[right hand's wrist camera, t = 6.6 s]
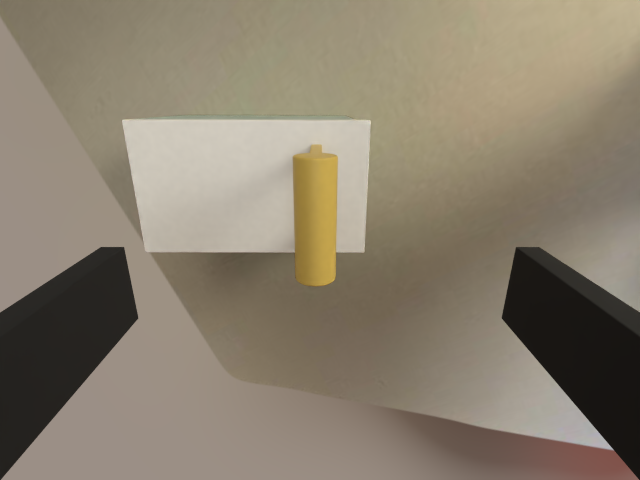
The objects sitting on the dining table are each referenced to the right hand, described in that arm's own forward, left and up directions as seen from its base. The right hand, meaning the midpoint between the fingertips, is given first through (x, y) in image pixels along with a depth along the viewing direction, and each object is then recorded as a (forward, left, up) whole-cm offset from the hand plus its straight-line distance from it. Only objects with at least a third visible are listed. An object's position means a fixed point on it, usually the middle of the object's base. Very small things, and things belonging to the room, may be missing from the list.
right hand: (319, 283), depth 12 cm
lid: (+1, -5, -15) cm, 15 cm away
